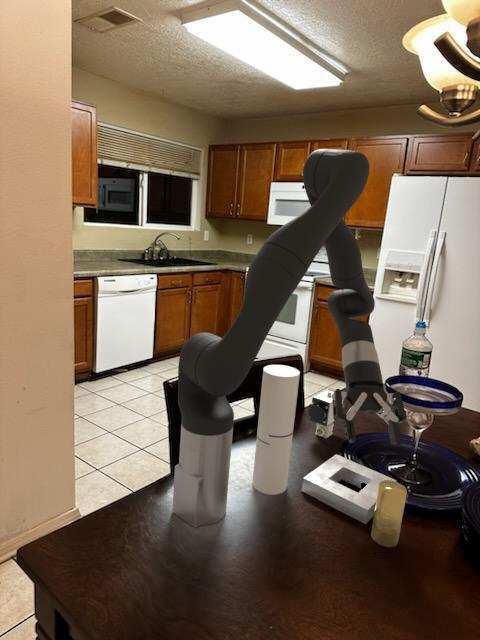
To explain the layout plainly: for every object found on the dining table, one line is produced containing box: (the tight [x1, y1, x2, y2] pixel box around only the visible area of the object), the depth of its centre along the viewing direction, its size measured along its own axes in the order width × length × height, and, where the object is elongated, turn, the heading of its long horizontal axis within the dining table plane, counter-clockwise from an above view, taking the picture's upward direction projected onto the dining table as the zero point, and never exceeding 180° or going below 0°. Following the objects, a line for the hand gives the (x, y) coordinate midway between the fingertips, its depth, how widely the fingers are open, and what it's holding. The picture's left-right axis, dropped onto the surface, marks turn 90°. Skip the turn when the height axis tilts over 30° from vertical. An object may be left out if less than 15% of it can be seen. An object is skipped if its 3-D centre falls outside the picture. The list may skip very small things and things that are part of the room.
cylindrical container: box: [252, 364, 301, 496], centre depth 89 cm, size 7×7×25 cm
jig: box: [301, 454, 397, 525], centre depth 91 cm, size 14×14×3 cm
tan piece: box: [370, 480, 408, 548], centre depth 77 cm, size 5×5×10 cm
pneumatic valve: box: [307, 389, 346, 439], centre depth 115 cm, size 6×12×12 cm, turn 141°
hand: (374, 442), depth 85 cm, fingers open, 8 cm apart
